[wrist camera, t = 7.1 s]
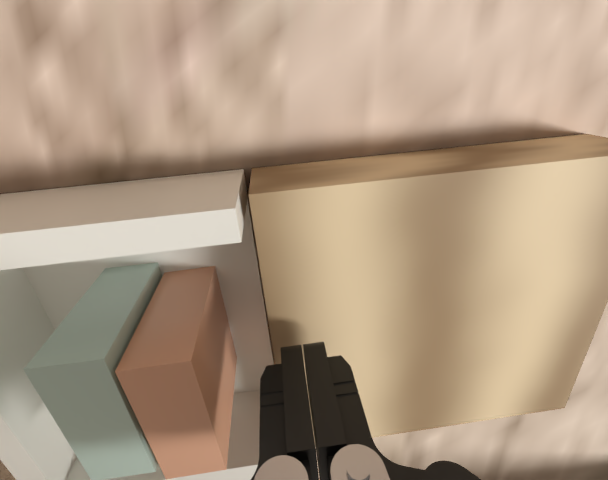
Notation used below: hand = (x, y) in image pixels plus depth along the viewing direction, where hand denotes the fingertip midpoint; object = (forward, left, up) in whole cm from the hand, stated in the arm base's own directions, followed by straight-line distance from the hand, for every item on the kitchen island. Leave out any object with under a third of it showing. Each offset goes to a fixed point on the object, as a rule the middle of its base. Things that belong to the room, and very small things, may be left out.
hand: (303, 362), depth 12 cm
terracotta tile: (+3, 0, -1) cm, 3 cm away
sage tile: (+5, 0, -1) cm, 5 cm away
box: (+6, 0, -4) cm, 7 cm away
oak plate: (-6, 0, -4) cm, 7 cm away
